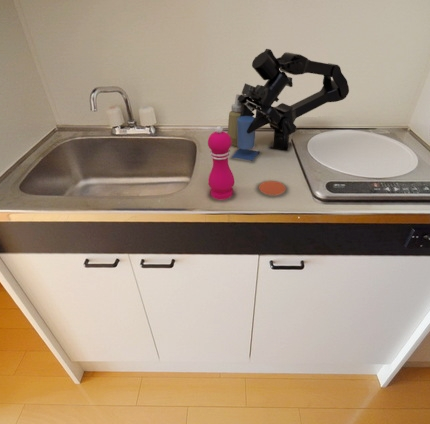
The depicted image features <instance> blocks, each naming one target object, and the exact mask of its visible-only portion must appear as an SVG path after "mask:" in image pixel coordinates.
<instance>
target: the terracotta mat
mask: <svg viewBox="0 0 430 424" xmlns="http://www.w3.org/2000/svg"><path fill="white" fill-rule="evenodd" d="M258 189H259V191H260V192H261V193H263V194H265V195H267V196H268V195H269V196H277V195H281V194H283V193H284V192H285V191H286V186H285V185H284V183H282V182H279V181H276V180H267V181H263V182H262V183H260V184H259V187H258Z"/></svg>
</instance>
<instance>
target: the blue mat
mask: <svg viewBox="0 0 430 424" xmlns="http://www.w3.org/2000/svg"><path fill="white" fill-rule="evenodd" d="M259 154H260V150H259V151H258V150H253V149H246V150H245V149H240V148H238V150H237V151H236V152H234V154H233V155H232V156H231V158H232V159H239V160H244V161H252V162H253V160H254V159H255V158H256V157H257V155H259Z"/></svg>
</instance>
